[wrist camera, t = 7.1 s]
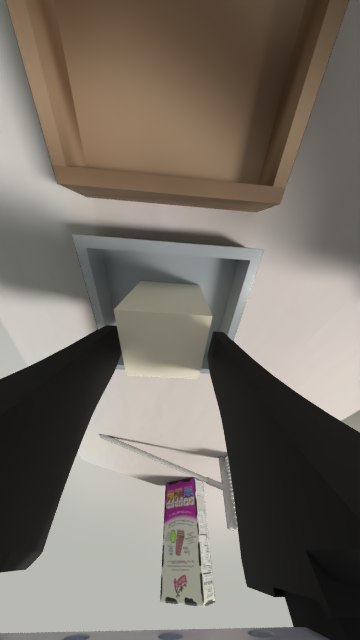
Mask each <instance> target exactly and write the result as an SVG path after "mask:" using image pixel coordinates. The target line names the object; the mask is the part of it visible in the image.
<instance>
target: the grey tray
mask: <svg viewBox="0 0 360 640" xmlns="http://www.w3.org/2000/svg"><path fill="white" fill-rule="evenodd" d="M72 238H73V241H74V245H75V248H76V252H77V256H78V259H79V263H80V266H81V270H82V273H83V277H84V281H85V284H86V288H87V291H88V295H89V298H90V302H91V305H92V309H93V313H94V316H95V320H96V323H97V327H98V329H100V328H102V327H104V326H106V325H111V326H117V324H116V319H115V314H114V309H115V308H116V307H117V306H118V305H119V304H120V303H121V301H122V300H123V299H124V298H125V297H126V296H127V295H128V294H129V293H130V292H131V291H132V290H133V289H134V288H135V287H136V286H137V285H138V283H139V282H140V281H150V282H163V283H177V284H191V285H199V286H200V288H201V290H202V293H203V295H204V297H205V300H206V302H207V304H208V307H209V309H210V311H211V314H212V321H211V325H210V330H209V335H208V339H207V344H206V348H205V353H204V357H203V362H202V366H201V371H200V373H210V372H209V365H208V357H207V355H208V351H209V347H210V343H211V338H212V334H213V331H216V332H224V333H225V334H226V335H227V336H228V337H229V338H230V339H232V340H233V341H234V338H235V335H236V332H237V329H238V326H239V323H240V320H241V317H242V314H243V311H244V308H245V305H246V302H247V299H248V296H249V293H250V290H251V288H252V285H253V282H254V279H255V276H256V273H257V270H258V267H259V264H260V261H261V258H262V255H263V252H264V250H262V249H254V248H245V247H232V246H220V245H207V244H195V243H182V242H170V241H157V240H145V239H132V238H120V237H107V236H94V235H73V234H72ZM116 369H123V370H125V367H124V361H123V356H122V353H121V356H120V359H119V362H118V364H117V367H116Z"/></svg>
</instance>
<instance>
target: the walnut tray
mask: <svg viewBox="0 0 360 640" xmlns="http://www.w3.org/2000/svg"><path fill="white" fill-rule="evenodd" d="M6 2H7V6H8V10H9V13H10V17H11V20H12V24H13V27H14V31H15V35H16V38H17V42H18V45H19V49H20V52H21V56H22V60H23V63H24V67H25V70H26V74H27V77H28V81H29V84H30V88H31V92H32V95H33V99H34V102H35V106H36V109H37V113H38V117H39V120H40V124H41V127H42V131H43V134H44V138H45V141H46V145H47V149H48V152H49V156H50V159H51V163H52V166H53V170H54V174H55V177H56V181H57V184H60V185H62V186H64V187H66V188H68V189H71V190H73V191H75V192H77V193H79V194H82V195H84V196H86V197H92V198H103V199H114V200H125V201H136V202H148V203H159V204H170V205H181V206H192V207H203V208H215V209H226V210H237V211H248V212H259V211H261V210H264V209H267V208H270V207H273V206H275V205H278V204H280V202H281V199H282V196H283V193H284V190H285V187H286V184H287V181H288V178H289V176H290V173H291V170H292V167H293V164H294V161H295V158H296V155H297V152H298V149H299V146H300V143H301V140H302V137H303V134H304V131H305V128H306V125H307V122H308V120H309V117H310V114H311V111H312V108H313V105H314V102H315V99H316V96H317V93H318V90H319V87H320V84H321V81H322V78H323V75H324V72H325V69H326V66H327V64H328V61H329V58H330V55H331V52H332V49H333V46H334V43H335V40H336V37H337V34H338V31H339V28H340V25H341V22H342V19H343V16H344V13H345V11H346V8H347V5H348V2H349V0H6Z"/></svg>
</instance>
